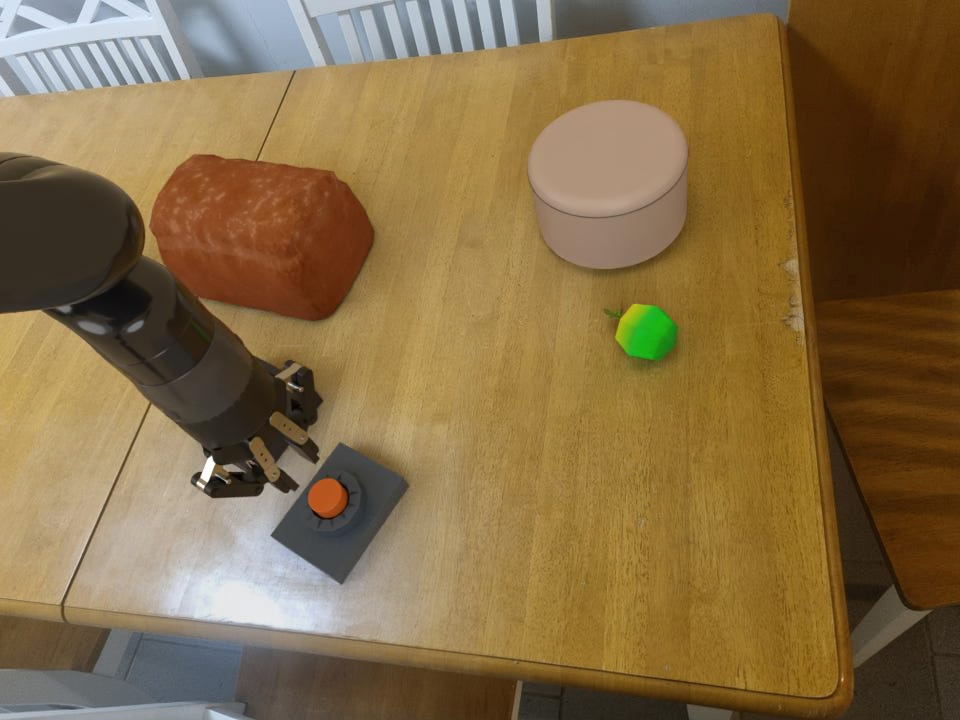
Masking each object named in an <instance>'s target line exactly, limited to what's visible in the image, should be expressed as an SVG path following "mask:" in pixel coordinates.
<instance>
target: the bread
mask: <svg viewBox="0 0 960 720" xmlns="http://www.w3.org/2000/svg"><path fill="white" fill-rule="evenodd" d="M148 227H149V230H150V232H151V235H153V236H154V238H155V241H156V244H157V247H158V248H157V249H158V252H159V255H160V258H161V261H162V263H163V264H162V265H164V266H165V267H167V268H168V269H169V270H171V271H172V272H173V273H175V274H176V275H177V276H178V277H179V278H180V279H181V280H182V281H183V282H184V283H185V284H186V285H187V287H188V288H189V289H190V290H191V291H192V292H193V293H194V295H195V296H196V297H197V298H201V299H205V300H211V301H216V302H221V303H226V304H229V305H235V306H240V307H244V308H250V309H253V310H254V309H255V310H260V311H263V312H269V313H274V314H277V315H280V316H282V317H288V318H293V319H299V320H305V321H310V322H314V321H317V320H322V319H325V318H328V317H329V316H330V315H331V314H332V313H333V312H334V311H335V310H336V309H337V308H338V307H339V306H340V305H341V303H342V301H343V300H344V298H345V296H347V293H348V292H349V290H350V288H351V287H352V285H353V283H354V281H355V280H356V278H357V276H358V274H359V272H360V270H361V269H362V268H363V265H364V263H365V261H366V259H367V256H368V255H369V253H370V250H371V249H372V246H373V244H374V237H375V229H374V227H373V224H372V222H371V220H370V218H369V215H368V213H367V211H366V208H365V207H364V206H363V204H362V203H361V201H360V200H359V199H358V198H357V196H356V194H355V193H354V191H353V190H352V189H351V187H350V186H349V185H348V183H347V182H345V181H343V180H341V179H339V178H338V176H337V174H336V172H335V170H328V169H322V168H314V167H300V166H295V165H290V164H286V163H275V162H270V161H265V160H250V159H246V158H226V157H222V156H219V155H216V154H207V153H205V154H200V153H198V154H196V153H194V154H192V155H190V157H188V158H187V159H186V160H184V161H183V162H182V163H180V164H179V165H178V166H176V168H175V169H174V170H173V172H172V174H171V175H170V176H169V177H168V179H167V181H166V182H165V184H164V185H163V187H162V188H161V189H160V190H159V192H158V193H157V196H156V198H155V201H154V204H153V206H152V210H151V215H150V221H149V226H148Z"/></svg>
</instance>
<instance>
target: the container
mask: <svg viewBox="0 0 960 720" xmlns="http://www.w3.org/2000/svg"><path fill="white" fill-rule="evenodd" d="M688 143H689V142H688V141H687V137H686V135H685V133H684V131H683V128H682V127H681V126H680V124H679V123H678V122H677V120H675V119H674V118H673V117H672V116H671V115H670V114H668V113H667V112H666V111H664V110H663V109H660V108H659V107H656V106H655V105H652V104H648V103H645V102H642V101H637V100H631V99H606V100H599V101H598V100H597V101H594V102H589V103H586V104H584V105H580V106H578V107H574V108H572V109H571V110H568V111H566V112H565V113H563V114H562V115H559V116H558V117H556V119H554V120H552V121H551V122H550V123H549V124H548V125H547V126H546V127H544V129H543V130H542V131H541V132H540V133H539V135H537V137H536V139H535V140H534V142H533V143H532V146H531V148H530V151H529V155H528V158H527V165H526V176H527V181H528V183H529V186H530V189H531V194H532V198H533V203H534V208H535V211H536V217H537V221H538V225H539V230H540V233H541V236H542V238H543V240H544V242H545V244H546V245H547V246H548V247H549V249H550V250H551V251H552V252H553V253H555V254H556V255H557V256H558V257H560V258H561V259H563V260H565V261H567V262H569V263H571V264H574V265H577V266H580V267H584V268H587V269H588V268H589V269H596V270H613V269H614V270H615V269H622V268H627V267H631V266H634V265H637V264H641V263H643V262H645V261H648V260H649V259H652V258H653V257H655V256H657V255H658V254H660V253H662V252H663V251H664V250H666V248H668V247H669V246H670V245H671V244H673V242H674V241H675V240H676V238H677V237H678V236H679V234H680V233H681V232H682V230H683V227H684V226H685V223H686V220H687V213H688V177H689V175H688V172H689V171H688V169H689V166H688V165H689V156H690V155H689V153H690V152H689V150H690V149H689V144H688Z"/></svg>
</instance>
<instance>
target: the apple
mask: <svg viewBox="0 0 960 720" xmlns="http://www.w3.org/2000/svg"><path fill="white" fill-rule="evenodd" d="M601 309H602V311H603V312H604V314H605V315H606V316H609V317H608V318H609V319H610V318H615V319H618V324H617V328H616V333H615V336H614V339H615V341H617V343H618V344H619V345H620V347H621V348H622V349H623V351H624V352H625V353H626V355H628V356H630V357H633V358H637V359H643V360H650V361H656V362H660V361H661V360H662V359H663V358H665V357H666V356H667V355H668V354H669V353H670V352H671V351H672V350H673V349H675V345H676V342H677V341H676V340H677V336H678V332H679V326H678V325H677V323H676V322H675V321H674V320H673V318H671V316H670V315H669V314H668V313H667V312H666V311H665V310H664V309H662V308H660V307H659V306H657V305H651V304H640V303H633V304H632V305H631V306H630V307H629V308H628V309H627V310H626V311H625V312H624V313H623V308H621V309H619V310H618V311H616V312H614V311H612V310H611V309H610V308H601ZM621 314H623V315H622V316H621V317H620V315H621Z"/></svg>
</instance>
